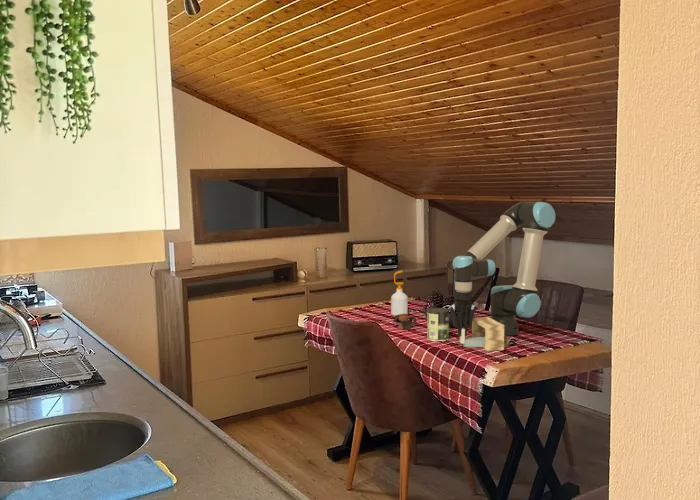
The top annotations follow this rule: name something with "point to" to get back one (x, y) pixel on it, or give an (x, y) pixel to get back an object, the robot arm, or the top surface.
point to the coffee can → (438, 324)
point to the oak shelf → (490, 333)
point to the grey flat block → (474, 341)
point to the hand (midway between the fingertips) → (462, 342)
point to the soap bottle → (399, 300)
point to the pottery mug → (404, 321)
